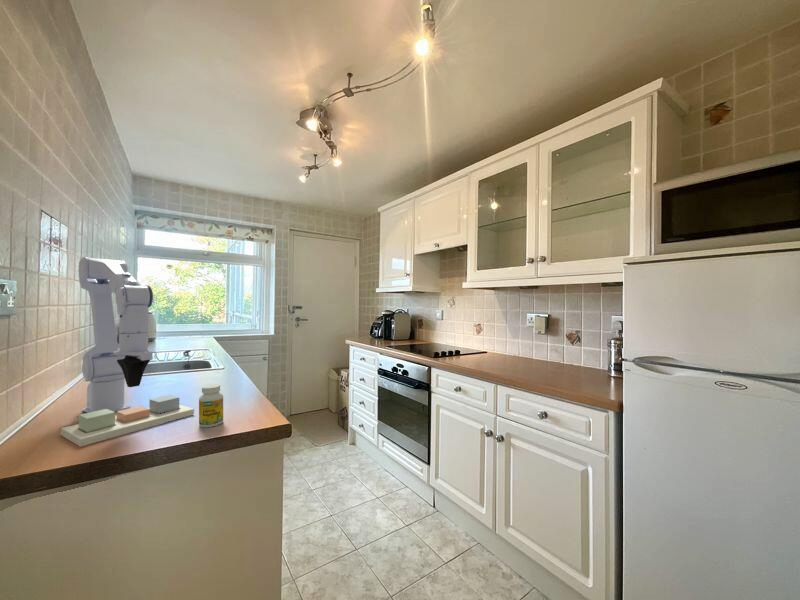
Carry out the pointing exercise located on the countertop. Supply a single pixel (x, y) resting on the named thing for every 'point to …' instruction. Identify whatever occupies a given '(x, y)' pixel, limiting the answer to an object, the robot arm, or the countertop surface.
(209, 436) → the countertop surface
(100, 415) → the sage button
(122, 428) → the panel
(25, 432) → the countertop surface
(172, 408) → the slate button
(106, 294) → the robot arm
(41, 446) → the countertop surface
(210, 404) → the supplement bottle
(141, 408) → the terracotta button
